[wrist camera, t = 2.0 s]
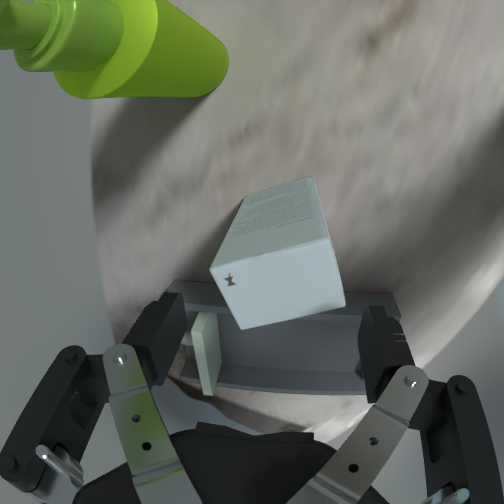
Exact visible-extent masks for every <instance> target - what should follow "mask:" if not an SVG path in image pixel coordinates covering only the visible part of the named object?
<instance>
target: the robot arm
mask: <svg viewBox="0 0 504 504" xmlns="http://www.w3.org/2000/svg"><path fill="white" fill-rule="evenodd" d="M186 328H187V318H186V312H185V306H184V300H183V295H182V293H178V292H168V291H165V292H164V293H163V294H162V296H161V298H160V299H159V301H153V302H151V303H150V304H149V305H147V306H146V307H145V308H144V310H143V311H142V313H141V314H140V316H139V317H138V319H137V320H136V323H134V325H133V327H132V328H131V330H130V331H129V333H128V334H127V336H126V338H125V339H124V341H123V342H122V344H116V345H113V346H111V347H110V348H108V349H107V350H106V351H105V353H104V354H102V355H87V354H86V352H85V350H84V349H83V348H82V347H80V346H76V345H73V346H68V347H66V348H64V349H63V350H61V352H60V353H59V354H58V355H57V357H56V358H55V360H54V362H53V363H52V364H51V366H50V367H49V369H48V371H47V372H46V374H45V375H44V377H43V378H42V380H41V382H40V383H39V385H38V386H37V388H36V390H35V391H34V393H33V395H32V397H31V398H30V400H29V401H28V403H27V405H26V406H25V408H24V410H23V412H22V413H21V415H20V417H19V419H18V420H17V422H16V424H15V426H14V428H13V430H12V431H11V433H10V435H9V437H8V439H7V441H6V443H5V445H4V447H3V449H2V451H1V453H0V475H1V477H2V478H3V479H5V480H6V481H8V482H9V483H10V484H12V485H13V486H15V487H16V488H17V489H18V490H19V491H21V492H22V493H24V494H26V495H27V496H29V497H30V498H32V499H34V500H35V501H37V502H40V503H42V504H389V503H388V502H387V501H386V500H385V499H384V498H383V497H382V496H381V495H380V494H379V493H378V492H377V491H376V490H375V489H374V488H373V487H372V486H371V484H372V482H373V481H374V480H375V478H376V477H377V475H378V474H379V473H380V471H381V470H382V468H383V467H384V465H385V464H386V462H387V461H388V459H389V458H390V456H391V454H392V453H393V451H394V450H395V448H396V447H397V445H398V443H399V441H400V440H401V438H402V436H403V435H404V433H405V431H406V430H407V428H411V429H417V430H420V435H421V442H422V449H423V457H424V465H425V474H426V486H427V499H425V500H424V501H423V502H422V503H421V504H504V497H503V491H502V484H501V479H500V474H499V469H498V464H497V459H496V455H495V451H494V447H493V442H492V438H491V435H490V431H489V428H488V425H487V421H486V417H485V414H484V411H483V408H482V405H481V402H480V399H479V396H478V393H477V390H476V387H475V385H474V383H473V382H472V381H471V380H470V379H469V378H467V377H465V376H462V375H455V376H452V377H451V378H450V379H449V381H448V382H447V383H444V382H438V381H433V380H430V379H428V377H427V375H426V373H425V372H424V371H423V370H422V369H420V368H419V367H416V366H415V363H414V360H413V357H412V354H411V352H410V349H409V346H408V343H407V342H406V338H405V335H404V332H403V330H402V327H401V324H400V323H399V322H398V321H397V320H396V319H395V318H394V317H388V316H387V314H386V311H385V308H384V306H383V305H366V306H365V309H364V313H363V316H362V320H361V324H360V328H359V331H358V339H357V342H358V349H359V354H360V359H361V365H362V370H363V376H364V382H365V388H366V394H367V401H368V404H369V403H375V405H373V406H372V407H371V408H370V409H369V411H368V412H367V414H366V415H365V416H364V418H363V419H362V420H361V422H360V423H359V424H358V426H357V427H356V428H355V430H354V431H353V432H352V433H351V435H350V436H349V437H348V438H347V440H346V441H345V442H344V443H343V444H342V446H341V447H340V448H339V449H338V450H336V449H334V448H333V447H331V446H329V445H327V444H325V443H322V442H319V441H316V440H314V433H311V432H279V433H272V434H265V435H257V436H254V435H250V434H247V433H244V432H241V431H238V430H235V429H232V428H229V427H227V426H222V425H216V424H209V423H203V422H197V426H196V429H189V430H184V431H180V432H176V433H174V434H172V435H169V433H168V431H167V429H166V426H165V424H164V422H163V420H162V418H161V415H160V413H159V410H158V408H157V406H156V403H155V401H154V398H153V396H152V393H151V388H152V386H153V384H154V385H158V386H162V385H163V383H164V381H165V378H166V376H167V374H168V371H169V369H170V367H171V364H172V362H173V360H174V357H175V355H176V353H177V351H178V348H179V346H180V344H181V341H182V339H183V337H184V335H185V332H186ZM70 401H71V402H70ZM69 403H70V404H69ZM105 403H110V407H111V411H112V414H113V418H114V421H115V425H116V428H117V432H118V435H119V438H120V441H121V444H122V447H123V450H124V453H125V456H126V459H127V462H125V463H123V464H122V465H120V466H119V467H117V468H115V469H113V470H111V471H109V472H108V473H106V474H104V475H102V476H101V477H99V478H97V479H95V480H93V481H91V482H89V483H87V484H86V485H84V486H83V482H84V480H83V469H82V467H81V465H80V461H81V459H82V456H83V453H84V451H85V449H86V446H87V444H88V442H89V439H90V437H91V434H92V432H93V430H94V427H95V425H96V423H97V420H98V418H99V416H100V414H101V411H102V409H103V407H104V405H105Z"/></svg>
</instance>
